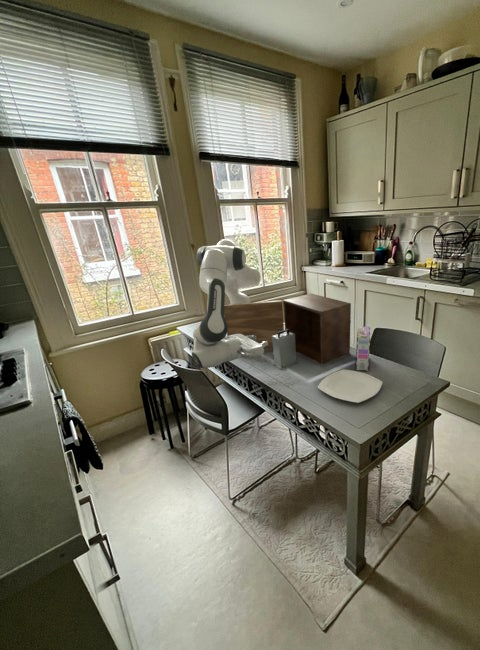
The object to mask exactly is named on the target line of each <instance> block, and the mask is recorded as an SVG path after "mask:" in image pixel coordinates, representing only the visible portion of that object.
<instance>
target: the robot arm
mask: <svg viewBox="0 0 480 650" xmlns="http://www.w3.org/2000/svg"><path fill="white" fill-rule="evenodd" d="M246 262H247V256H246V253H245V250H244V249H243V248H242V247H240V246H237V245H236V244H235V243H234V241H232V240H230V239H228V238H225V239H220V240H219V241H218V242H217V243H216V245H203V246H200V247H199V248H198V249H197V251H196V263H197V266H198V267H200V270H199V280H198V282H199V288H200V289H201V291H202V292H204V293H205V294H207V302H206V313H205V316H204V317H203V319H202V320H201V322H200V323H198V325H196V326H195V328H194V329H193V333H192V336H193V348H192V351H191V357H192V360H193V363H195V365H196V366H197V367H198V368H200V369H210V368H213V367H218V366H220V365H222V364H224V363H226V362H232V361H235V360H237V359H241V357H246V358H254V357H258V356H261V355H263V354H264V353H265V350H264V347H265V346H267V345H268V342H267V341H263V343H257V342H255V341H254V340H256V336H255V335H252V336H244V335H242V334H233V335H230V336H228V335H227V331H228V327H227V323H226V320H225V315H224V305H225V302H226V301H225V300H226V299H225V297H226V295H227V298H228V300H229V302H230V304H229V305H234V304H246V303H251V299H250V297H249V296H248V295H247V294H245V293H243V292H241V291H240V290H239V289H249V288H254V287H257V286H259V285H260V283H261V279H262V278H261V277H262V275H261V273H260V270H259V269H257V268H256V267H254V266H253V267H252V266H250V265H248V264H247V263H246Z"/></svg>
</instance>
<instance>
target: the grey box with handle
mask: <svg viewBox="0 0 480 650" xmlns="http://www.w3.org/2000/svg"><path fill="white" fill-rule="evenodd" d="M272 342H273V349H272V351H273V352H272V353H273V365H274V366H275V367H277V368H279V369H280V370H283V369H285V368H286V366H287V365H290V364H292V363H295V362H297V352H296V344H295V334H294V333H292V332H289V329H286V330H283V331H279V332H277V334H276V335H273V336H272Z"/></svg>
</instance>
